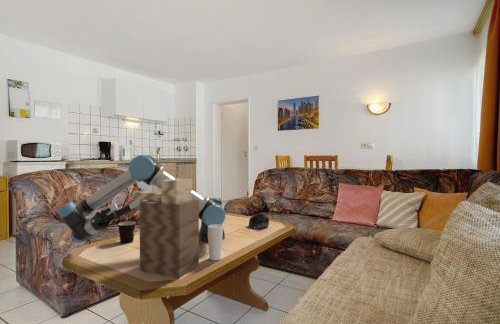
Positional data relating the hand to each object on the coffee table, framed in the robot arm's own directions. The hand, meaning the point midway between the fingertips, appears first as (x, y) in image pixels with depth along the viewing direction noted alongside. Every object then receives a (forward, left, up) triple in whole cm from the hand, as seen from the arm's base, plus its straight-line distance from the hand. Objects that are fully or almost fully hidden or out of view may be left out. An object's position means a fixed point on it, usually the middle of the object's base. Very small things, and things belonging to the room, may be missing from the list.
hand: (128, 203), depth 122 cm
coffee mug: (+2, -31, -26) cm, 41 cm away
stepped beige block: (-13, +10, +2) cm, 16 cm away
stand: (-17, +14, -26) cm, 34 cm away
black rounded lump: (-77, -38, -26) cm, 90 cm away
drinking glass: (-37, +10, -26) cm, 46 cm away
